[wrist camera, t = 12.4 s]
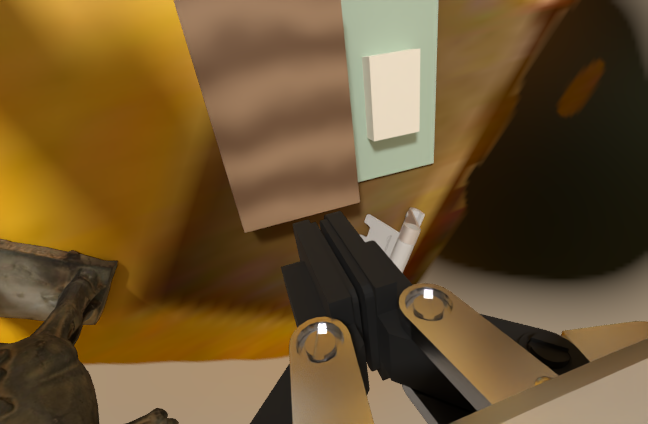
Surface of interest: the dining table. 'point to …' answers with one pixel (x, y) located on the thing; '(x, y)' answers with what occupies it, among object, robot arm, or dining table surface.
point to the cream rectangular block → (392, 93)
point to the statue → (52, 335)
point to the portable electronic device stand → (396, 236)
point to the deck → (276, 103)
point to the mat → (384, 37)
